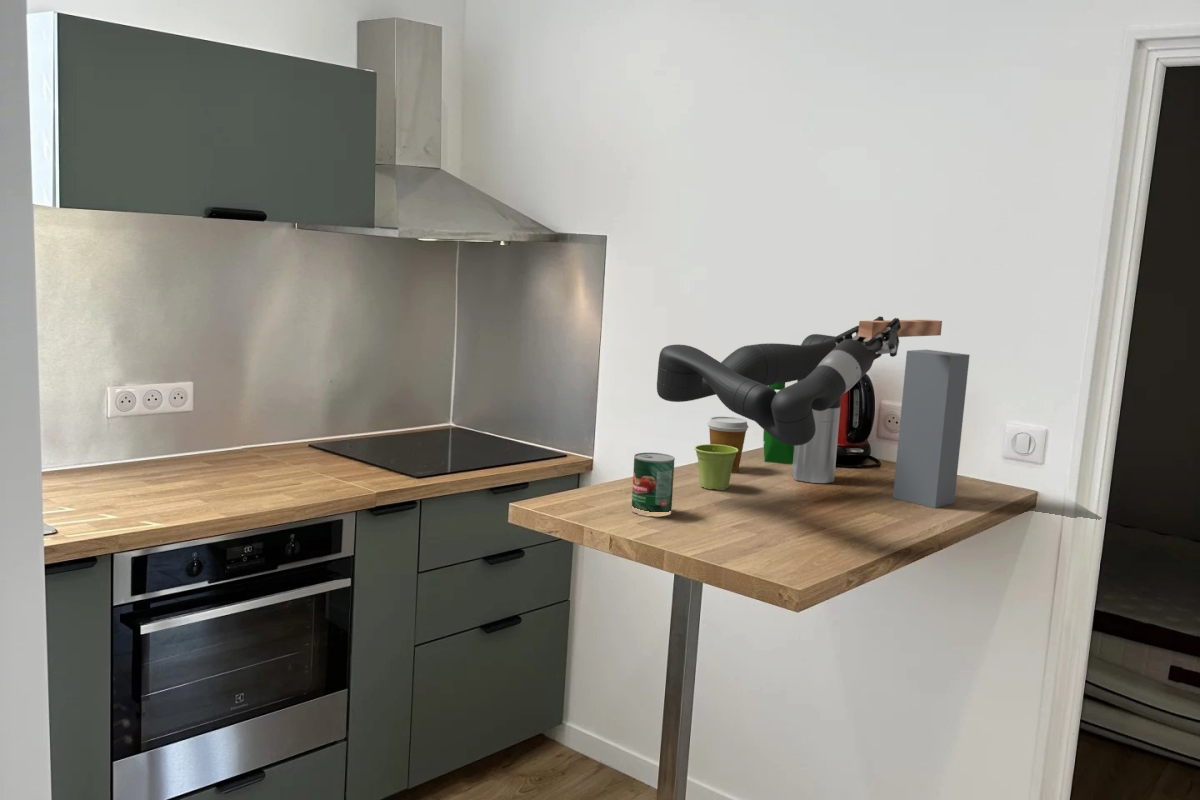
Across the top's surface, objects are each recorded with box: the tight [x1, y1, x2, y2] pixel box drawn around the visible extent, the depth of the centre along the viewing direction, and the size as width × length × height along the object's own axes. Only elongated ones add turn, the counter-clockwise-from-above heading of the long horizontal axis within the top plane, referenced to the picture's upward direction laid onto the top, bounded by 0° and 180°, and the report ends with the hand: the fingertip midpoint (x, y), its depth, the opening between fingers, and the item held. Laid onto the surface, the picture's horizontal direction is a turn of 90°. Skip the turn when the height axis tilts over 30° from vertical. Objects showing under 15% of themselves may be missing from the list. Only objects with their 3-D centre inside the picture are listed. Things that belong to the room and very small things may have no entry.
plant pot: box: [694, 443, 738, 491], centre depth 224 cm, size 9×9×9 cm
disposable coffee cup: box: [707, 416, 749, 474], centre depth 243 cm, size 10×10×12 cm
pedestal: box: [892, 349, 971, 509], centre depth 220 cm, size 8×10×32 cm
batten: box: [858, 319, 943, 338], centre depth 207 cm, size 26×3×3 cm, turn 133°
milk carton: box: [762, 383, 794, 465], centre depth 257 cm, size 9×9×20 cm
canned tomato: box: [631, 452, 676, 512], centre depth 201 cm, size 8×8×11 cm
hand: (889, 321), depth 203 cm, fingers closed on batten, 3 cm apart
